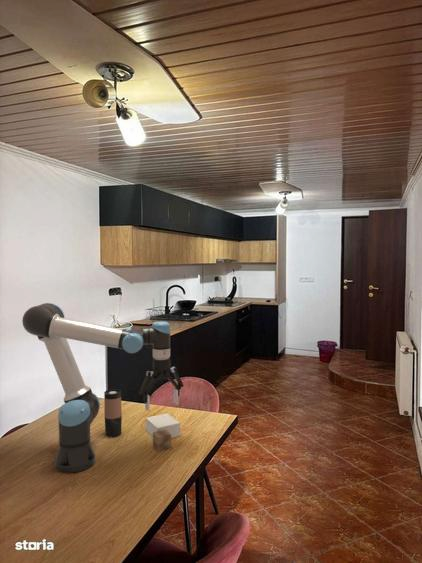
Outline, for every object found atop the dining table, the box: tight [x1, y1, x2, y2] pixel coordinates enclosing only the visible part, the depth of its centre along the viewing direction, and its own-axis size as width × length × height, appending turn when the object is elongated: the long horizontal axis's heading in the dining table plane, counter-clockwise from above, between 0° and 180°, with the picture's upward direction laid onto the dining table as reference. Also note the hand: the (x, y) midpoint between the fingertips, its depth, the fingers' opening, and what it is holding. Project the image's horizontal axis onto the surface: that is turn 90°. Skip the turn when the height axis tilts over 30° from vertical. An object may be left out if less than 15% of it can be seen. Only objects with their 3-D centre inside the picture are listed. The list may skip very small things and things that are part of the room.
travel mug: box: [103, 388, 123, 438], centre depth 185 cm, size 8×8×20 cm
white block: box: [145, 413, 181, 439], centre depth 186 cm, size 11×14×6 cm
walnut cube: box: [152, 430, 173, 452], centre depth 172 cm, size 6×6×6 cm
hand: (161, 406), depth 173 cm, fingers open, 13 cm apart
